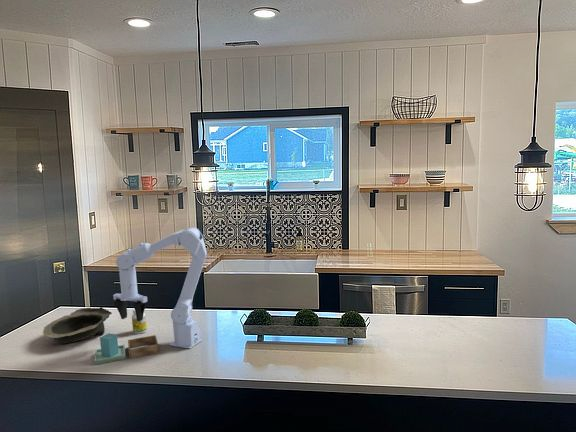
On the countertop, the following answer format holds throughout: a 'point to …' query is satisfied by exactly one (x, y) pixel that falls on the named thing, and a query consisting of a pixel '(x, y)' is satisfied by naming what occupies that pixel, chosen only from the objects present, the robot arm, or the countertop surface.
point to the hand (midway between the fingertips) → (132, 319)
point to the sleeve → (143, 350)
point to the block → (109, 345)
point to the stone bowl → (77, 325)
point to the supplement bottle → (139, 324)
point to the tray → (120, 356)
